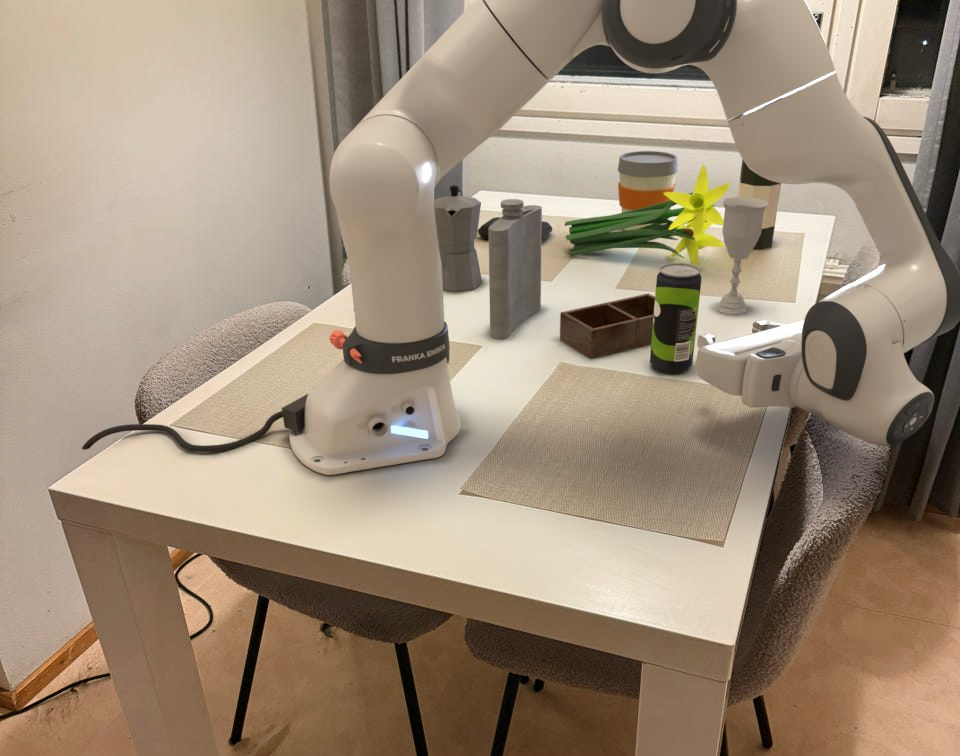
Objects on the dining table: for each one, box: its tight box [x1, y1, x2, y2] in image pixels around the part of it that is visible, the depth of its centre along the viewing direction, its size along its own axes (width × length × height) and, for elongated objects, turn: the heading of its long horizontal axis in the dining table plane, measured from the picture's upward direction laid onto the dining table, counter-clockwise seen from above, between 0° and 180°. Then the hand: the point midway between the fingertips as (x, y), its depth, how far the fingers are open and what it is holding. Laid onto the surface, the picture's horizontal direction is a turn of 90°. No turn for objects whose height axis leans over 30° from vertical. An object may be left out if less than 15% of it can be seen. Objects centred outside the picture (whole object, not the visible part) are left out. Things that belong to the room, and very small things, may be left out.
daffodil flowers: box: [564, 164, 731, 267], centre depth 174 cm, size 17×15×35 cm
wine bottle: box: [737, 158, 782, 250], centre depth 178 cm, size 8×8×30 cm
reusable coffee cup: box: [617, 150, 679, 231], centre depth 193 cm, size 13×13×15 cm
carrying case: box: [477, 216, 553, 242], centre depth 193 cm, size 11×3×15 cm
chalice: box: [715, 196, 768, 315], centre depth 149 cm, size 7×7×18 cm
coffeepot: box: [434, 184, 483, 293], centre depth 164 cm, size 15×9×18 cm, turn 176°
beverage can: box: [649, 262, 703, 375], centre depth 130 cm, size 6×6×15 cm
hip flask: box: [488, 198, 543, 340], centre depth 146 cm, size 16×4×20 cm, turn 154°
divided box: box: [559, 293, 655, 360], centre depth 143 cm, size 17×9×5 cm, turn 118°
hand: (729, 332), depth 121 cm, fingers open, 8 cm apart
